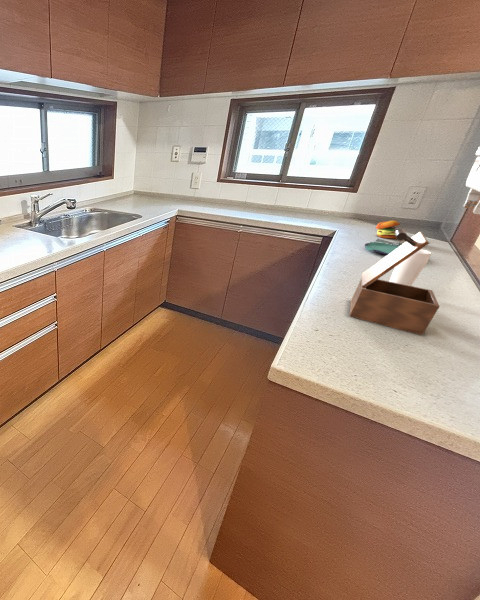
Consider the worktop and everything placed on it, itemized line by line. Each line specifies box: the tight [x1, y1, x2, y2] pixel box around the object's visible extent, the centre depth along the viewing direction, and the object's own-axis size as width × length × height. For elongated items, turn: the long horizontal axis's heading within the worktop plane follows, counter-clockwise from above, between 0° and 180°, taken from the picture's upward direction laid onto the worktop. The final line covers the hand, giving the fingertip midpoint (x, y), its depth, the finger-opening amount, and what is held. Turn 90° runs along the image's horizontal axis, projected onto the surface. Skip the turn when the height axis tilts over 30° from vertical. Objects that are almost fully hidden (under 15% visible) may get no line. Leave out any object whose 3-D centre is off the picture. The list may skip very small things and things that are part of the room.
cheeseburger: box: [375, 219, 401, 241], centre depth 173 cm, size 10×11×10 cm
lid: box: [361, 228, 430, 288], centre depth 90 cm, size 16×13×5 cm
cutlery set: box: [364, 238, 404, 256], centre depth 152 cm, size 20×30×2 cm, turn 132°
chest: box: [349, 277, 440, 336], centre depth 92 cm, size 16×13×9 cm
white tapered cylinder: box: [388, 248, 432, 286], centre depth 106 cm, size 7×7×15 cm
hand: (472, 211), depth 78 cm, fingers open, 8 cm apart
